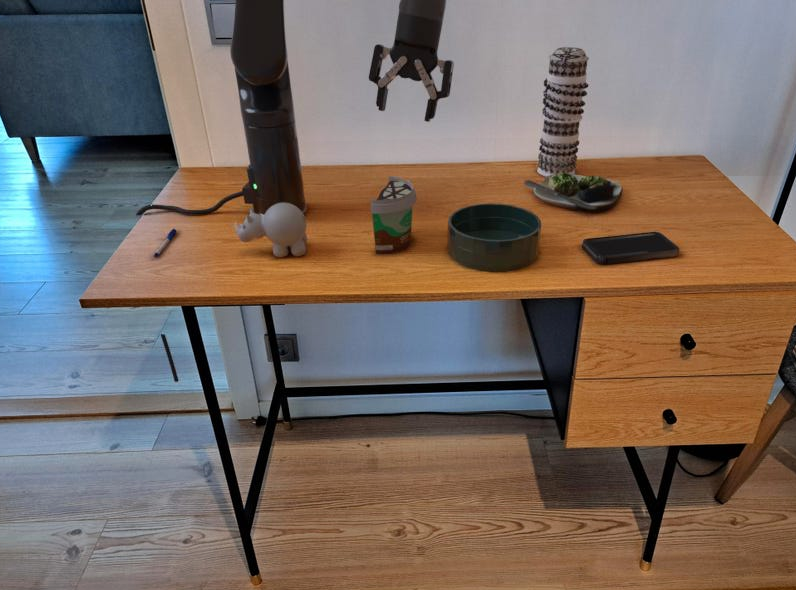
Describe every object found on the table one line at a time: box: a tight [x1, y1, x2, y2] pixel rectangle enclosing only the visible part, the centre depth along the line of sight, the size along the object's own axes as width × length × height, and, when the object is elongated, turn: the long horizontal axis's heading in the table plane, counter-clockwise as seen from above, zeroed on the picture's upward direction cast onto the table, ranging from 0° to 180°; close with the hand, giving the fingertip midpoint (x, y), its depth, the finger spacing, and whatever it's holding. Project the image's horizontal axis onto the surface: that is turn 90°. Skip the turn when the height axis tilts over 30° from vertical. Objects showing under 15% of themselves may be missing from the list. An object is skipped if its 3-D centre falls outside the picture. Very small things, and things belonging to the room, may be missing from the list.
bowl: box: [447, 202, 542, 273], centre depth 109 cm, size 16×16×6 cm
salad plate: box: [523, 172, 624, 213], centre depth 130 cm, size 19×18×5 cm
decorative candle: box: [536, 46, 590, 178], centre depth 136 cm, size 9×9×25 cm
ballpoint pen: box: [153, 228, 177, 258], centre depth 113 cm, size 10×1×1 cm, turn 1°
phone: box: [581, 231, 680, 265], centre depth 110 cm, size 8×1×15 cm
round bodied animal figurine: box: [234, 203, 308, 258], centre depth 108 cm, size 7×12×8 cm, turn 93°
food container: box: [370, 175, 418, 255], centre depth 110 cm, size 12×6×10 cm, turn 168°
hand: (404, 115), depth 114 cm, fingers open, 8 cm apart
